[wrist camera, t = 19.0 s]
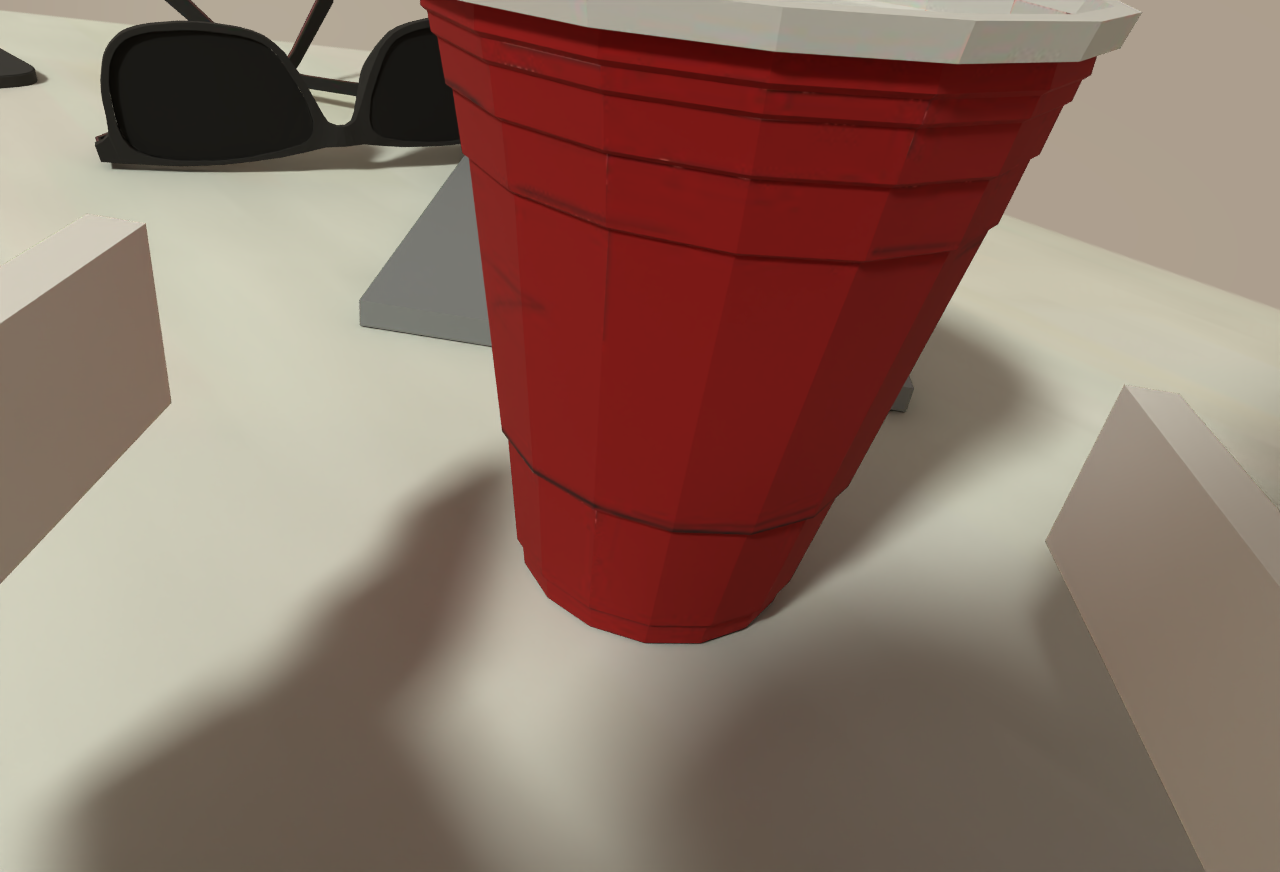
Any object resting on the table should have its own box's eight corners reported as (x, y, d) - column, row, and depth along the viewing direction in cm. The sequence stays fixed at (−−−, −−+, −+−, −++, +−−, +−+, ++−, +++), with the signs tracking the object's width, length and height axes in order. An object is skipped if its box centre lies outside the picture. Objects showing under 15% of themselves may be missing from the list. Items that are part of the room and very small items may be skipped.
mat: (825, 192, 44) (830, 175, 44) (905, 412, 27) (913, 388, 27) (490, 136, 43) (491, 118, 43) (359, 325, 27) (359, 300, 26)
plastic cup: (554, 370, 26) (611, -120, 20) (930, 515, 23) (1145, -12, 17) (266, 587, 18) (198, -150, 11) (799, 864, 15) (1134, 61, 8)
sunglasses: (429, 71, 50) (425, -32, 48) (544, 145, 40) (546, 20, 37) (74, 84, 43) (45, -38, 40) (104, 180, 32) (67, 25, 30)
